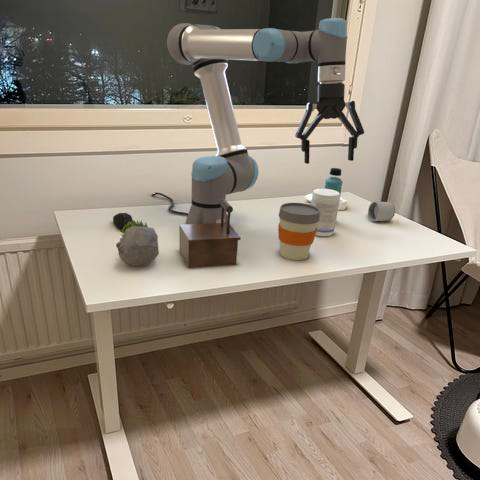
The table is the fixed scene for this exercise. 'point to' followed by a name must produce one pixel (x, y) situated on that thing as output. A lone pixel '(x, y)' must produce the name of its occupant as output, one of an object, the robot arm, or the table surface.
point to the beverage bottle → (334, 180)
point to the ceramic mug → (381, 211)
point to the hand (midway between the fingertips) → (328, 161)
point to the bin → (207, 252)
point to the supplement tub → (326, 210)
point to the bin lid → (212, 228)
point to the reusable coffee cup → (297, 229)
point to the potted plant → (138, 244)
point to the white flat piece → (341, 201)
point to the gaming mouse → (121, 220)
